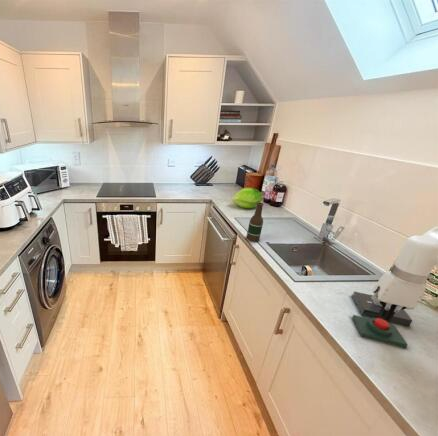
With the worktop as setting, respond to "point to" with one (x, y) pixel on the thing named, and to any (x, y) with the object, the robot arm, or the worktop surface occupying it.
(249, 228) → the beer bottle
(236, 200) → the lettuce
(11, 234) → the worktop surface
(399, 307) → the robot arm
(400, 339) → the green device base
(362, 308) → the panel
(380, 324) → the power button
